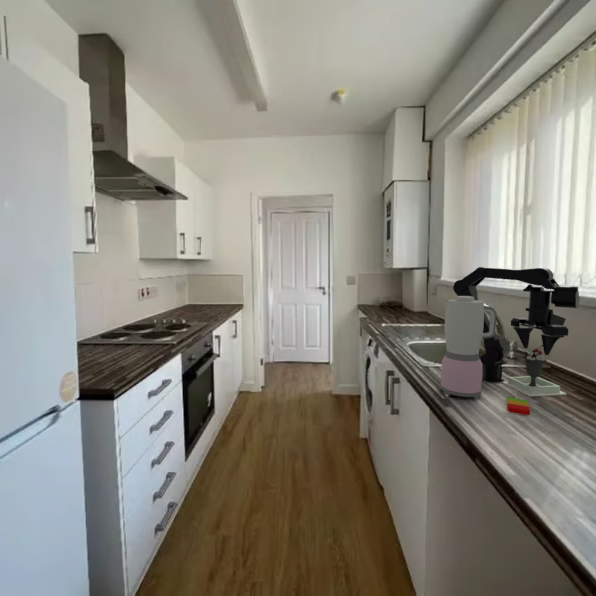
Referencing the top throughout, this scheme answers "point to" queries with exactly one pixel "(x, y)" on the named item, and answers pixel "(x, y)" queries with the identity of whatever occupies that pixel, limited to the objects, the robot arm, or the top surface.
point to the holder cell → (540, 390)
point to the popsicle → (518, 405)
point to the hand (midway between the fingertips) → (535, 351)
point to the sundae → (534, 364)
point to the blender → (464, 346)
